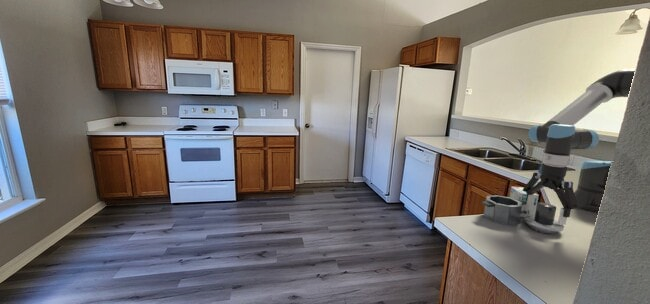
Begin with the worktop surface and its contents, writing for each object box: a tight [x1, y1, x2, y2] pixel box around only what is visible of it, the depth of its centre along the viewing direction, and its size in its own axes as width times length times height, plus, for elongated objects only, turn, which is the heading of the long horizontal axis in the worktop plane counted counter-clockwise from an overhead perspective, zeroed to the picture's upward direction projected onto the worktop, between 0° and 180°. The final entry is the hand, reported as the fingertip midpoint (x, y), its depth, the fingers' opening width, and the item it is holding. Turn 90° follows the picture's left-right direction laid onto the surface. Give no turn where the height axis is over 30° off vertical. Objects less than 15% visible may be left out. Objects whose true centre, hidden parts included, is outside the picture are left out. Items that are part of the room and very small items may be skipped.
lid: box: [523, 202, 565, 235], centre depth 108 cm, size 12×12×10 cm
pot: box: [481, 194, 525, 226], centre depth 117 cm, size 18×13×8 cm
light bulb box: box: [509, 186, 540, 218], centre depth 123 cm, size 11×7×11 cm, turn 169°
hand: (544, 216), depth 108 cm, fingers open, 13 cm apart
